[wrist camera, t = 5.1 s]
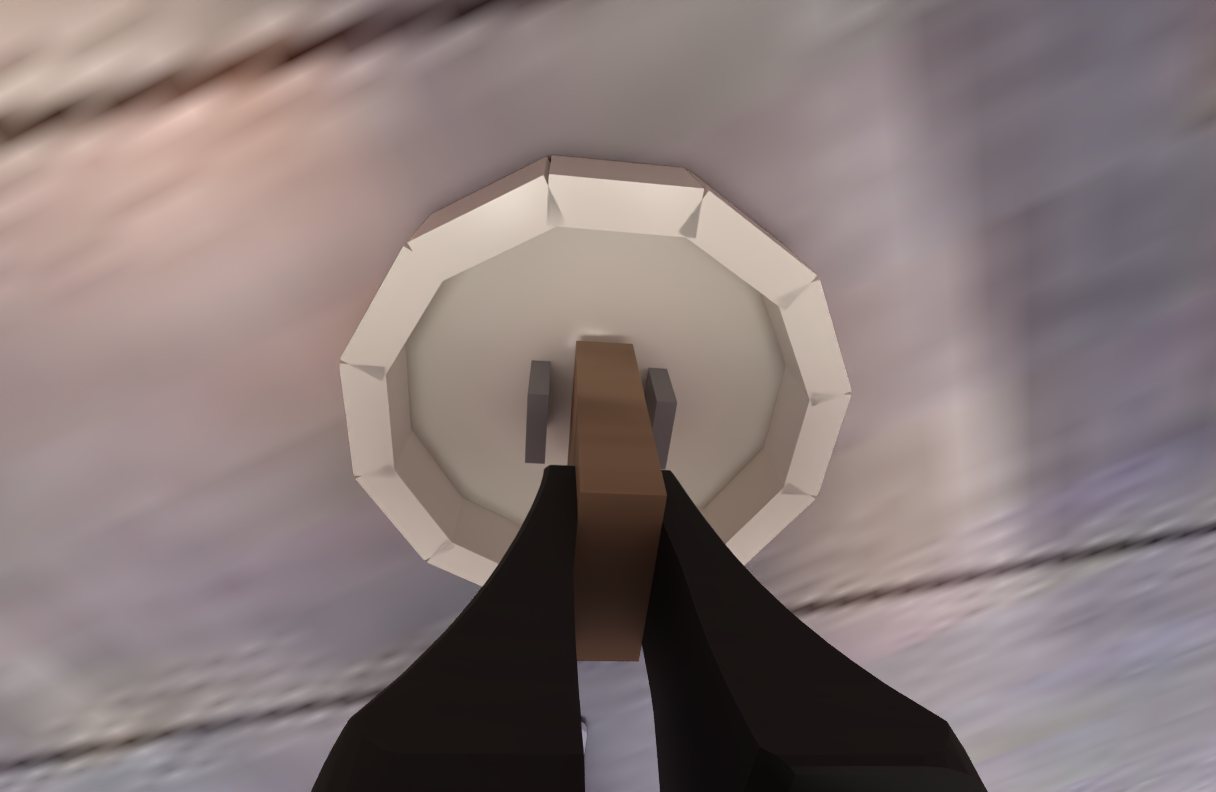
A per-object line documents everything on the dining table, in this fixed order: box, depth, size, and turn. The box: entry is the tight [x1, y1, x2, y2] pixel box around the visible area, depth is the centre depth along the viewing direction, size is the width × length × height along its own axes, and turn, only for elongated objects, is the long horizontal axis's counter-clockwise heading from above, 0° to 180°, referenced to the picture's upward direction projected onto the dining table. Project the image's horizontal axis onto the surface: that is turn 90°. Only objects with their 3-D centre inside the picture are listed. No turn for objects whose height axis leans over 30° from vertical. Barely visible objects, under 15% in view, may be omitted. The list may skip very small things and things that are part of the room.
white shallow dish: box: [339, 155, 852, 586], centre depth 16 cm, size 12×12×2 cm
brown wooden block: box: [567, 341, 667, 661], centre depth 13 cm, size 4×1×6 cm, turn 175°
